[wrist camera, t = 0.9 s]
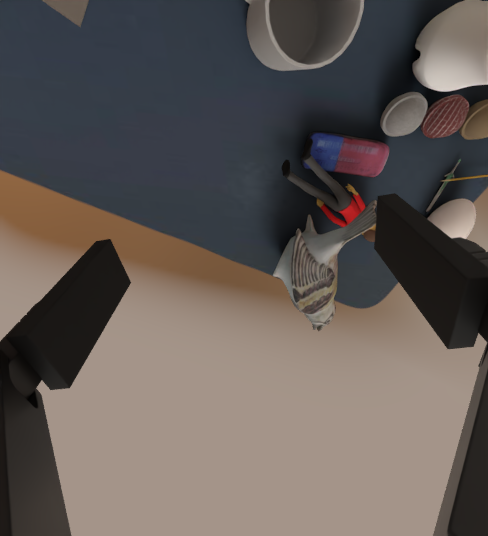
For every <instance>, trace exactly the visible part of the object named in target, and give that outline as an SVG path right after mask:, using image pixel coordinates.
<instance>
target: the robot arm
mask: <svg viewBox="0 0 488 536" xmlns="http://www.w3.org/2000/svg"><path fill="white" fill-rule="evenodd" d="M374 249H375V250H376V251H377V253H378V254H379V255H380V257H381V258H382V260H383V261H384V262H385V264H386V265H387V266H388V268H389V269H390V271H391V272H392V273H393V275H394V276H395V277H396V279H397V280H398V282H399V283H400V284H401V286H402V287H403V288H404V290H405V291H406V292H407V294H408V295H409V297H410V298H411V299H412V301H413V302H414V303H415V305H416V306H417V308H418V309H419V310H420V312H421V313H422V314H423V316H424V317H425V318H426V320H427V321H428V323H429V324H430V325H431V327H432V328H433V329H434V331H435V332H436V334H437V335H438V336H439V337H440V339H441V340H442V342H443V343H444V344H445V346H446V347H447V349H455V348H464V347H473V346H474V344H475V341H476V338H477V335H478V333H479V334H480V335H481V336H482V337H483V338H484V339H485V340H486V341H487V345H486V347H485V350H484V353H483V355H482V358H481V361H480V364H479V367H480V368H479V372H478V375H477V379H476V382H475V386H474V390H473V393H472V397H471V401H470V405H469V408H468V411H467V415H466V419H465V423H464V426H463V429H462V433H461V437H460V440H459V444H458V447H457V451H456V455H455V459H454V462H453V466H452V469H451V473H450V477H449V480H448V484H447V487H446V491H445V494H444V498H443V502H442V505H441V509H440V512H439V516H438V520H437V523H436V527H435V531H434V534H433V536H488V252H486V251H485V250H484V249H483V248H482V247H480V246H479V245H477V244H476V243H474V242H472V241H469V240H467V239H464V238H461V237H457V238H450V237H449V236H448V235H447V234H445V233H444V232H443V231H442V230H440V229H439V228H438V227H437V226H435V225H434V224H433V223H432V222H430V221H429V220H428V219H427V218H425V217H424V216H423V215H422V214H420V213H419V212H418V211H417V210H415V209H414V208H413V207H411V206H410V205H409V204H408V203H406V202H405V201H404V200H403V199H401V198H400V197H399V196H398V195H396V194H389V195H383V196H378V200H377V215H376V229H375V244H374ZM130 283H131V282H130V280H129V278H128V276H127V273H126V271H125V269H124V267H123V265H122V263H121V261H120V259H119V257H118V254H117V252H116V250H115V248H114V246H113V244H112V242H111V240H110V239H108V240H101V241H96V242H95V243H94V244H93V245H92V246H91V247H90V248H89V250H88V251H87V252H86V253H85V254H84V255H83V256H82V257H81V258H80V259H79V260H78V261H77V262H76V263H75V264H74V266H73V267H72V268H71V269H70V270H69V271H68V272H67V273H66V274H65V275H64V276H63V277H62V278H61V279H60V280H59V281H58V282H57V284H56V285H55V286H54V287H53V288H52V289H51V290H50V291H49V292H48V293H47V294H46V295H45V296H44V297H43V299H42V300H41V301H39V302H38V303H37V304H35V305H34V306H33V307H32V308H31V310H30V311H29V312H28V313H27V315H25V316H24V317H23V318H22V319H21V320H20V322H18V323H17V324H16V325H15V326H14V328H13V329H12V330H11V331H10V332H9V333H8V334H7V335H6V336H5V337H4V338H3V339H2V340H1V341H0V536H71V532H70V527H69V523H68V518H67V513H66V509H65V504H64V499H63V494H62V490H61V485H60V480H59V475H58V471H57V466H56V462H55V457H54V452H53V447H52V443H51V438H50V433H49V429H48V424H47V419H46V415H45V410H44V405H43V400H42V396H41V394H40V392H39V391H38V390H37V389H36V388H37V386H38V385H39V383H40V382H41V380H43V382H44V383H45V384H46V385H47V386H48V387H49V389H50V390H55V389H65V388H70V387H71V385H72V383H73V381H74V380H75V378H76V376H77V375H78V373H79V371H80V369H81V368H82V366H83V364H84V363H85V361H86V359H87V357H88V356H89V354H90V352H91V350H92V349H93V347H94V345H95V344H96V342H97V340H98V338H99V337H100V335H101V333H102V332H103V330H104V328H105V326H106V325H107V323H108V321H109V319H110V318H111V316H112V314H113V312H114V311H115V309H116V307H117V306H118V304H119V302H120V301H121V299H122V297H123V295H124V294H125V292H126V290H127V288H128V287H129V285H130Z"/></svg>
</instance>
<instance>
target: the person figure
mask: <svg viewBox="0 0 488 536" xmlns="http://www.w3.org/2000/svg"><path fill="white" fill-rule="evenodd" d="M312 144H313V140H312V139H311V138H310V139H308V140H307V142H306V143H305V146H304V152H303V154H302V156H301V158H302V159H303V160H304V162H305V163H306V164H308V165H309V167H310V168H311V169H312V170H313V171H314V172H315V174H316V175H317V176H318V177H319V178H320V179H321V180H322V181H323V182H325V183H326V184H327V185H328V186H329V187H330V189H331V190H332V192H333V193H334V195H335V196H333V195H331V194H329V193H327V192H325V191H322V190H320V189H318V188H316V187H314V186H313V185H311V184H309V183H307V182H306V181H304V180H303V179H301V178H299V177H297V176H296V175H295V174H294V173H293V172H291V170H290V162H289V160H285V161H284V163H283V165H282V171H283V176H285V177H286V178H287V179H289V180H290V181H291V182H293V183H294V184H296V185H297V186H299V187H300V188H301V189H303V190H304V191H305V192H307V193H309V194H310V195H312V196H315V197H317V205H318V206H319V207H320V208H321V209H322V211H323V212H324V213H325V214H326V216H327V217H328V218H329V219H330V220H331V221H332V222H334V223H336V224H338V225H340V226H341V227H345V226H347V225H348V224H349V223H350V222H351V221H353V220H354V219H355V218H356V217H357V216H358V215H359V214H360V213H361V212H362V211H363V210H364V209H365V207H366V206H365V204H364V202H363V201H362V199H361V197H360V196H359V194H358V192H356V191H355V189H354V188H353V187H352V186H351V185H349V184H348V185H349V186H346V187H348V189H347V190H348V191H352V192H353V194H352V195H353V196H354V198H355V200H356V202H357V203H356V202H355V201H354V199H353V198H352V197H351V196H350V195H349V194H348V193H347V192H346V191H345V190H344V188H343V187H342V186H341V185H340V184H339V183H338V182H337V181H336V180H334V179H333V178H332V177H331V176H330V175H329V174H328V173H327V172H326V171H325V170H324V169H323V168H322V167H321V166H320V165H319V164H318V163H317V162H316V160H315V159H314V158H313V156H312V155H311V148H312ZM324 203H325V204H326V205H328V206H329V207H330V208H332V209H333V210H335V211H336V212H340V213H341V214H343V216H344V217H345V219H346V221H343V220H341V219H339V218H337V217H335V216H334V215H333V214H332V213H331V212H330V211H329V209H328V208H327V207H326V205H325V204H324ZM375 229H376V225H375V226H373V227H372V228H370V229H369V230H367V231H365V232H364V233H362V235H363V236H364V238H365V239H366V240H368V241H370V242H375Z"/></svg>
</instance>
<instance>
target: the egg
mask: <svg viewBox="0 0 488 536" xmlns="http://www.w3.org/2000/svg"><path fill="white" fill-rule="evenodd" d="M427 219H428V220H429V221H430V222H432V223H433V224H434V225H435V226H437V227H438V228H439V229H440V230H442V231H443V232H444V233H445V234H447V235H448V236H449V237H450V238H457V237H461V238H464V239H466V237H467V236H468V235H469V233H470V232H471V230H472V229H473V226H474V223H475V220H476V209H475V206H474V205H473V203H472V202H471V201H469V200H467V199H455V200H452V201H449V202H447V203H445V204H443V205H442V206H440V207H439V208H437V209H436V210H435V211H433V212H432V213H431V214H430V216H429V217H428V218H427Z"/></svg>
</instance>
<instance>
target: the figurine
mask: <svg viewBox="0 0 488 536" xmlns="http://www.w3.org/2000/svg"><path fill="white" fill-rule="evenodd" d="M376 205H377V201H376V200H373V201H372V202H371V203H370V204H369V205H368V206H367V207H365V209H364V210H363V211H362V212H361V213H360V214H359V215H358V216H357V217H356V218H355V219H354V220H353V221H351V222H350V223H349V224H348V225H347V226H345V227H342V228H339V229H336V230H333V231H330V232H328V233H325V234H321V235H319V234H317V232H316V231H315V229H314V224H313V221H312V218H311V215H308V219H307V224H306V229H305V231H304V232H303V233H301V231H300V229H299V228H298V229H297V231H296V236H294V237H292V238H291V239H290V241H289V243H288V244H287V246H286V248H285V250H284V252H283V254H282V256H281V258H280V260H279V262H278V265H277V267H276V269H275V271H274V274H273V276H276V277H279V278H280V279H282V280H283V281H284V283H285V285H286V287H287V289H288V291H289V294H290V297H291V300H292V302H293V304H294V306H295V307H296V308H297V309H298V310H299V311H301V312H302V313H304V314H305V316H306V317H307V318H308V319H309V320H310V321H311V322H312V325H313V329H314V330H315V329H316V328H317V330H318V331H320V330H322V328H323V327H324V326H325V325H328V324H329V323H330V322H331V320H332V319H333V316H334V314H335V309H336V307H335V303H334V296H335V294H336V290H337V271H338V264H337V255H338V252H339V251H340V249H341V248H342V247H343V245H344V244H345V243H346V242H348V241H349V240H351V239H353V238H355V237H357V236H358V235H360V234H362V233H364V232H365V231H367V230H369V229H370V228H372V227H373V226H375V225H376V214H375V211H374V209H375V207H376Z"/></svg>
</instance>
